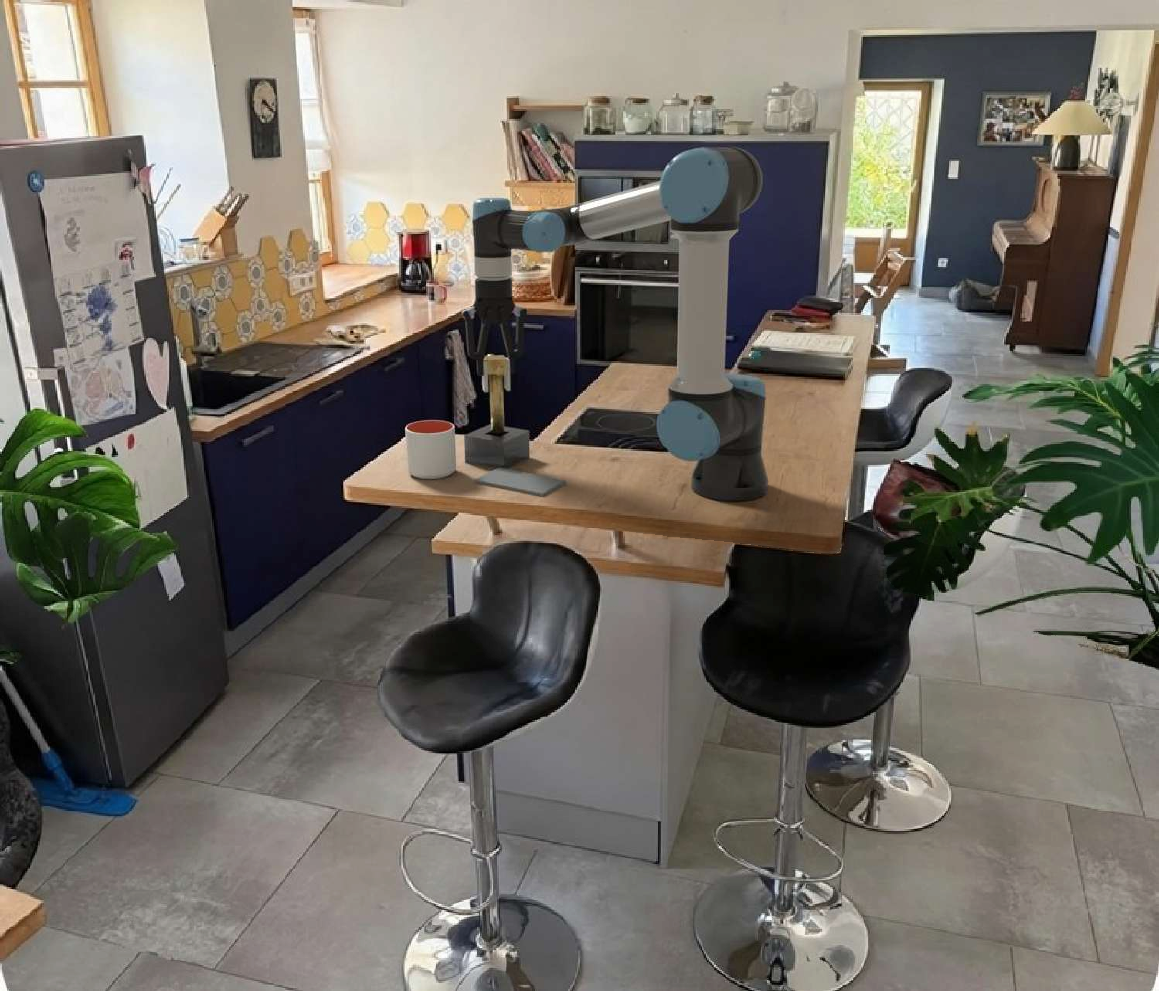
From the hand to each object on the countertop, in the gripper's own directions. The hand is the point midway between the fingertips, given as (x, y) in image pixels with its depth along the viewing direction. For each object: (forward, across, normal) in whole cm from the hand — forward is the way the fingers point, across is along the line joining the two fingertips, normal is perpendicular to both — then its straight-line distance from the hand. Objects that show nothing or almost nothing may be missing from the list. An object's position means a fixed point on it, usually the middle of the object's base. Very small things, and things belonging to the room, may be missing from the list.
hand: (496, 389), depth 214 cm
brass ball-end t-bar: (+9, 0, 0) cm, 9 cm away
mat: (+16, -2, +15) cm, 22 cm away
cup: (+16, +15, +5) cm, 22 cm away
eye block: (+16, 0, 0) cm, 16 cm away
